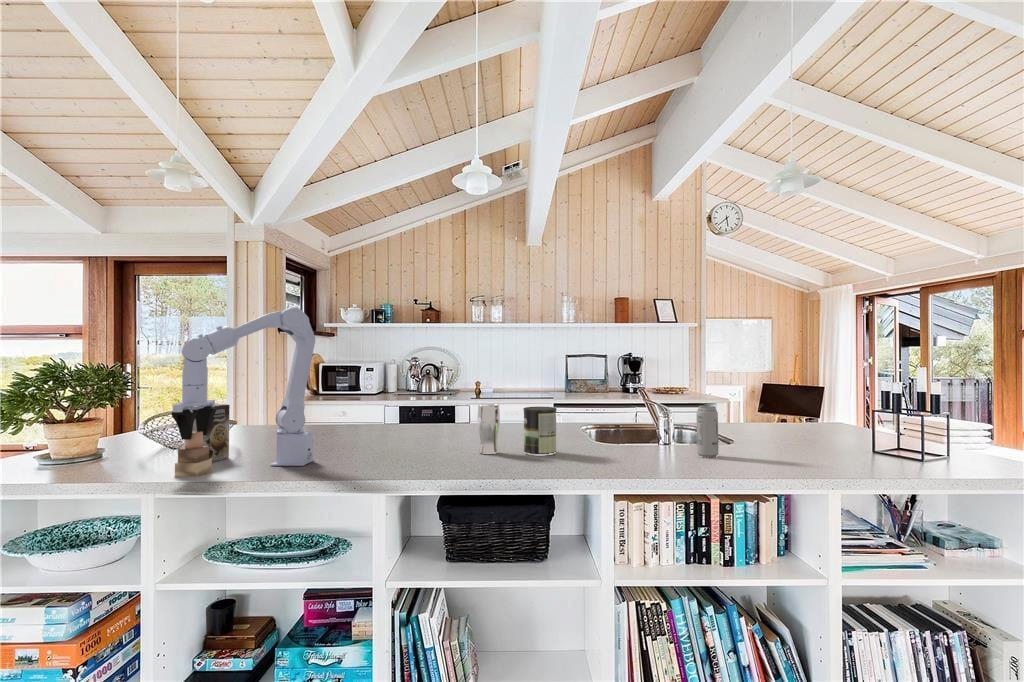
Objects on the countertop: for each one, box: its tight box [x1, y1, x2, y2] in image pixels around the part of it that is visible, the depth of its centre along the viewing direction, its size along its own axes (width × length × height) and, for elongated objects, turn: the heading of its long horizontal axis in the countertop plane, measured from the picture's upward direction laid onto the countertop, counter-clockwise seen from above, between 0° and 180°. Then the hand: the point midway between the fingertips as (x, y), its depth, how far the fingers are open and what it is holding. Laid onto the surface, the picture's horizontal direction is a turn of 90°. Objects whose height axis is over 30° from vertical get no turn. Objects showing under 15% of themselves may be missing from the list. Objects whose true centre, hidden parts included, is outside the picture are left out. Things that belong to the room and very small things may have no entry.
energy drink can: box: [696, 405, 719, 458], centre depth 163 cm, size 6×6×15 cm
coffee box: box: [190, 404, 231, 463], centre depth 160 cm, size 9×6×16 cm
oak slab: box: [174, 459, 213, 477], centre depth 142 cm, size 6×6×4 cm
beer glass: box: [477, 403, 501, 453], centre depth 171 cm, size 7×7×15 cm
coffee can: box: [522, 406, 557, 454], centre depth 170 cm, size 10×10×14 cm
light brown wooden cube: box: [184, 431, 203, 449], centre depth 142 cm, size 4×4×4 cm
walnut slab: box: [177, 446, 209, 463], centre depth 142 cm, size 5×5×4 cm
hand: (194, 437), depth 142 cm, fingers open, 6 cm apart
